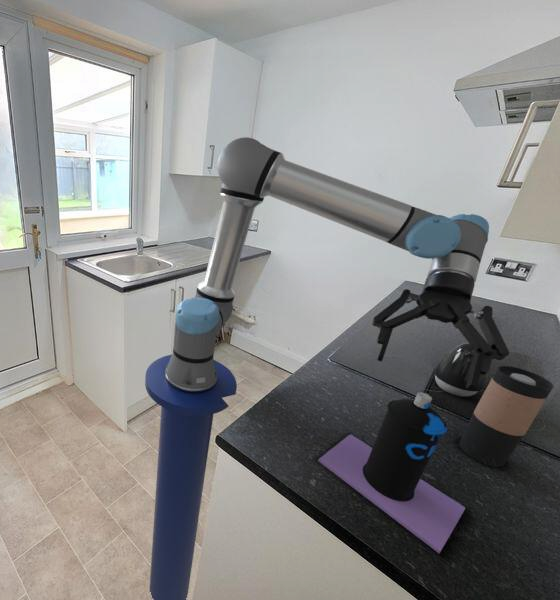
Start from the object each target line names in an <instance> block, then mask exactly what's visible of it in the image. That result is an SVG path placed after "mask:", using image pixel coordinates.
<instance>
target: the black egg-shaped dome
mask: <svg viewBox="0 0 560 600" xmlns="http://www.w3.org/2000/svg"><path fill="white" fill-rule="evenodd" d="M477 354H478V353H477V352H476V351H475V350H474V348H473V347H472V346H471V345H470V343H469V342H463V343H461V344H458V345H457V346H455V347H454V348H452V349H451V350H450V351H449V352H448V353H447V354H445V356H444V357H443V358H442V359H441V361H440V362H439V363H438V364H437V366H436V367H435V369H434V371H433V372H434V380H435V383H436V385H437V386H438V387H439V388H440V390H441V389H442V391H444V392H445V393H448V394H450V395H453V396H457V397H465V398H466V397H472V396H474V395H476V394H477V393H479V392H480V391H482V390H483V388H484V387H485V383H486V379H487V373H486V374H485V375H482V374H480V376H479V380H478V385H477V387H476V388H474V389H473V390H472V391H471V390H468V389H466V385H467V381H468V377H469V374H470V370H471V366H472V362H473V358H474V356H475V355H477Z"/></svg>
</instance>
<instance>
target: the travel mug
mask: <svg viewBox="0 0 560 600" xmlns="http://www.w3.org/2000/svg"><path fill="white" fill-rule="evenodd" d="M553 389H554V384H553V383H552V382H551V381H550V380H549V379H547V378H545V377H543V376H541V375H539V374H537V373H534V372H532V371H529V370H526V369H523V368H519V367H515V366H510V365H500V366H498V367H497V368H496V370H495V372H494V373H493V375H492V377H491V379H490V381H489V383H488V384H487V387H486V388H485V390H484V392H483V394H482V396H481V398H480V400H479V401H478V403H477V405H476V406H475V408H474V411H473V413H472V415H471V417H470V419H469V421H468V423H467V426H466V428H465V430H464V432H463V434H462V437H461V439H460V441H459V447H460V449H461V450H462V451H463V452H464V453H465V454H466V455H468V456H469V457H470V458H472V459H473V460H475V461H478V462H479V463H481V464H484V465H486V466H490V467H495V468H500V467H503V466H504V465H505V464H506V463H507V461H508V460H509V459H510V457H511V455H512V454H513V453H514V452H515V450H516V448H517V447H518V445H519V444H520V443H521V441H522V440H523V438H524V437H525V435H526V434H527V432H528V431H529V429H530V427H531V425H532V424H533V422H534V421H535V419H536V417H537V415H538V414H539V412H540V410H541V409H542V407H543V405H544V403H546V400H547V398H548V397H549V395H550V393H551V391H552V390H553Z"/></svg>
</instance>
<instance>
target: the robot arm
mask: <svg viewBox="0 0 560 600" xmlns="http://www.w3.org/2000/svg"><path fill="white" fill-rule="evenodd" d="M217 160H218V161H217V167H216V169H217V174H218V177H219V180H220V181H221V182H222V184H221V187H220V192H219V195H220V197H221V199H222V200H223V202H222V207H221V211H220V215H219V219H218V222H217V227H216V231H215V234H214V239H213V242H212V246H211V247H212V248H211V250H210V255H209V259H208V263H207V267H206V272H205V275H204V279H203V280H202V281H200V283H198V284H197V286H196V291H195V294H194V297H190V298H186V299H184V300H182V301H181V302H180V303H178V305H177V307H176V311H175V315H174V333H173V346H172V348H173V349H172V353H171V355H172V356H171V358H170V361H169V363H168V365H167V367H166V370H165V379H166V381H167V382H168V384H169V385H170V386H172V387H173V388H175V389H177V390H179V391H182V392H185V393H192V394H198V393H204V392H207V391H210V390H211V389H213V388H214V387H215V385H216V382H217V372H216V368H215V363H214V360H215V359H214V354H215V348H216V340H217V337H218V334H219V333H220V331H221V330H222V329H223V327H224V326H225V325H226V323H227V322H228V321H229V319H230V318H231V316H232V313H233V309H234V308H233V307H234V304H233V302H234V299H235V296H236V293H235V291H234V289H233V285H234V282H235V277H236V275H237V271H238V267H239V264H240V261H241V257H242V253H243V250H244V247H245V244H246V241H247V236H248V233H249V230H250V226H251V223H252V220H253V216H254V213H255V209H256V208H257V207H258V206H259V205H261V204H262V203H264V200H265V197H270V198H271V197H272V198H274V199H276V200H278V201H281V202H283V203H286V204H288V205H292V206H294V207H296V208H299V209H301V210H305V211H306V212H309V213H312V214H315V215H317V216H319V217H321V218H324V219H327V220H330V221H332V222H335V223H337V224H339V225H342V226H345V227H346V228H350V229H352V230H354V231H356V232H359V233H362V234H364V235H367V236H369V237H372V238H375V239H377V240H379V241H383V242H385V243H388V244H389V245H392V246H394V247H397V248H400V249H402V250H404V251H406V252H409V253H410V254H411V255H413V256H415V257H419V258H422V259H429V260H430V259H431V262H430V266H429V269H428V271H427V274H426V278H425V281H424V284H423V288H422V290H421V293H420V294H416V293H413V292H411V290H410V289H408V288H405V289H403V291H402V293H401V294H400V296H399V297H398V298H397V299H395V300H394V301H393V302H392V303H391V304H389V305H388V306H386V307H385V308H384V309H383V310H382V311H380V312H378V314H377V315H375V316H374V317H373V319H372V322H371V325H372V326H373V327H377V329H379V333H378V335H377V339H376V343H377V344H378V345H381V348H380V351H379V354H378V356H377V360H376V361H378V362H380V363H381V362H382V361H383V360H384V356H385V354H386V351H387V348H388V345H389V342H390V339H391V336H392V334H393V330H394V329H396V328H398V327H400V326H402V325H405V324H407V323H409V322H411V321H413V320H416V319H417V320H418V319H419V318H421V317H426V318H427V319H428V320H432V321H439V322H440V323H444V324H448V323H451V324H452V325H453V326H454V328H455V329H457V330H458V331H459V332H460V333H461V335H462V336H463V337H464V338H465V340H466V341H467V343H470V345H471V346H472V347H473V348H474V350H475V351H476V352H477V353H478V354H477V355H475V356H474V358H473V362H472V366H471V370H470V374H469V377H468V381H467V385H466V389H468V390H471V391H472V390H473V389H474V388H476V387H477V385H478V380H479V376H480V374H482V375H485V374H486V375H487V374H488V373H489V371H490V370H491V365H492V360H497V361H503V359H505V358H506V357H508V356H510V351H509V348H508V346H507V344H506V343H505V340H504V338H503V336H502V335H501V333H500V330H499V328H498V326H497V324H496V322H495V319H494V318H493V307H492V306H490V305H484V306H483V307H480V306H473V305H472V304H471V300H472V296H473V292H474V289H475V283H476V282H477V278H478V275H479V270H480V266H481V262H482V258H483V255H484V252H485V249H486V245H487V243H488V240H489V233H490V224H489V222H488V220H487V219H486V218H484V217H483V216H481V215H478V214H474V213H470V214H466V213H460V214H456V215H453V216H450V217H447V216H445V215H441V214H436V213H433V212H430V211H427V210H425V209H422V208H419V207H416V206H412V205H411V204H409V203H405V202H402V201H400V200H397V199H394V198H392V197H388V196H387V195H384V194H380V193H378V192H375V191H373V190H369V189H366V188H364V187H362V186H358V185H355V184H353V183H349V182H347V181H344V180H342V179H339V178H336V177H333V176H330V175H328V174H325V173H322V172H320V171H317V170H314V169H311V168H309V167H306V166H302V165H301V164H298V163H295V162H292V161H289V160H286V158H285V156H284V153H283V152H280V151H278V150H275V149H272V148H270V147H268V146H266V145H265V144H264V143H261V142H260V141H259V140H257V139H255V138H252V137H249V136H248V137H247V136H246V137H245V136H244V137H239V138H235V139H234V140H232V141H230V142H229V143H227V144H226V146H224V148H223V149H222V150H221V152H220V154H219V157H218V159H217ZM414 301H415V303H416V304H417V306H415V307H414V308H412V309H410V310H408V311H406V312H403V313H401V314H399V315H397V316H395V317H392V316H393V315H394V314H395V313H396V312H398V311H399V310H400V309H401V308H402V307H404V306H405V305H406V304H410V303H412V302H414ZM469 314H472V315H473V317H474V319H475V320H478V325H479V327H480V329H481V332H482V334H483V336H484V337H483V336H482V335H481V333H480V332H479V330H477V329H476V327H475V326H474V324H473V323H471V321H470V317H468V315H469ZM390 317H392V318H390ZM389 318H390V319H389Z"/></svg>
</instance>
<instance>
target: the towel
mask: <svg viewBox="0 0 560 600" xmlns="http://www.w3.org/2000/svg"><path fill="white" fill-rule="evenodd" d="M372 448H373V447H372V446H370V445H369V444H367V443H365V442H364V441H362V440H361V439H360V438H357V437H356V436H354V435H353V434H349V435H347V436H346V437H345V438H343V439H342V440H341V441H339V442H338V443H337V444H335V446H334V447H331V448H330V449H329V450H328V451H326V452H325V454H323V455H322V456H320V457H319V458H318V463H319V464H321V465H322V466H323V467H325V468H326V469H328V470H329V471H330V472H332V473H333V474H334V475H336V476H337V477H338V478H340V480H342V481H343V482H345V483H346V484H347V485H349V487H352V488H353V489H354V490H355V491H357V492H358V493H359V494H361V496H363V497H364V498H365V499H367V500H368V501H369V502H371V503H372V504H373V505H374V506H376V507H378V509H380V510H381V511H383V512H384V513H386V514H387V515H388V516H389V517H391V518H392V519H393V520H395V521H396V522H397V523H398V524H400V525H401V526H402V527H404V528H405V529H406V530H408V531H409V532H410V533H412V534H413V535H414V536H416V537H417V538H418V539H419V540H421V542H423V543H425V545H427V546H429V547H430V548H431V549H432V550H434V551H435V552H436V553H437V554H441V552H442V550H443V548H444V546H445V545H446V544H447V542H448V540H449V538H450V536H451V535H452V532H453V531H454V530H455V528H456V526H457V524H458V522H459V520H460V519H461V517H462V515H463V514H464V512H465V510H466V507H465V506H463V505H462V504H461V503H459V502H457V501H456V500H455V499H453V498H451V497H449V496H448V495H447V494H445V493H443V492H442V491H440V490H439V489H437V488H435V487H434V486H433V485H431V484H430V483H427V482H426V481H425V480H423V479H422V478H420V480H419V482H418V484H417V486H416V488H415V490H414V497H413V498H412V499H411V500H409V501H404V502H402V501H397V500H393V499H390V498H388V497H386V496H384V495H382V494H381V493H379V492H378V491H377V490H375V489H374V488H373V487H372V486H371V485H370V484H369V483H368V482H367V480H366V479H365V477H364V474H363V466H364V465H365V464H366V463H367V461H368V458H369V456H370V453H371V451H372Z"/></svg>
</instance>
